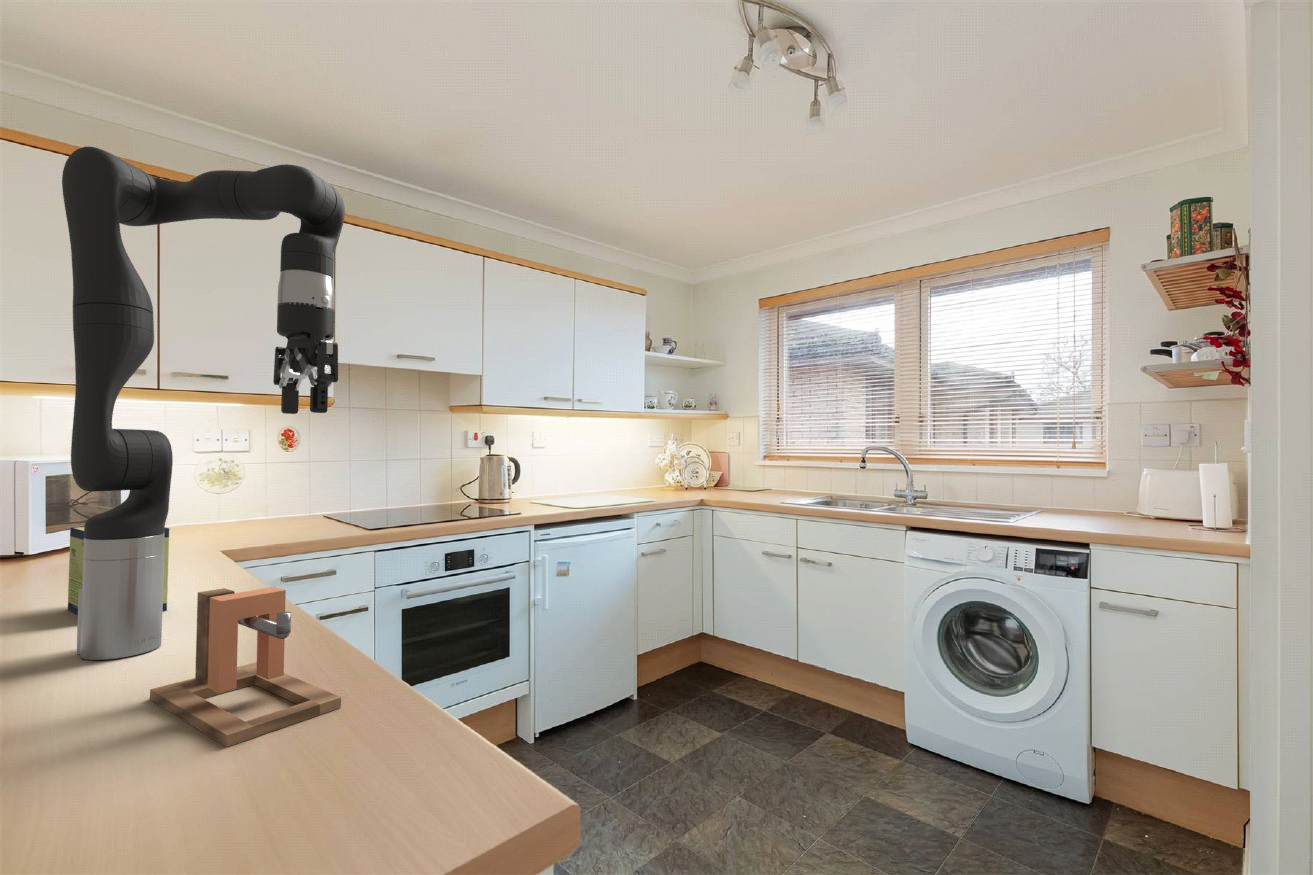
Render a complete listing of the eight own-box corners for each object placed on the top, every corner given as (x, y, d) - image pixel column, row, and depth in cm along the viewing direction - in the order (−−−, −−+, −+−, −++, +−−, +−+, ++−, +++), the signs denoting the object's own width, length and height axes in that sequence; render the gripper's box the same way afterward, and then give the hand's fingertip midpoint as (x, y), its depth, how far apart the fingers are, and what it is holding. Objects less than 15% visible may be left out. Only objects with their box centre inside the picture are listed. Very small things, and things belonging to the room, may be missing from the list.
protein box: (96, 623, 107) (99, 533, 107) (65, 610, 115) (68, 526, 115) (169, 610, 115) (171, 527, 116) (135, 599, 124) (137, 521, 124)
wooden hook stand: (149, 699, 75) (152, 598, 76) (257, 670, 85) (259, 581, 85) (226, 746, 64) (229, 627, 64) (340, 707, 74) (343, 604, 74)
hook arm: (214, 617, 78) (215, 594, 78) (226, 615, 79) (227, 592, 79) (279, 641, 69) (280, 615, 69) (293, 638, 70) (293, 612, 70)
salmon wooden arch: (218, 693, 71) (221, 601, 71) (207, 687, 72) (209, 597, 72) (283, 675, 76) (285, 590, 77) (272, 670, 78) (273, 586, 78)
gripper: (257, 306, 94) (254, 412, 94) (305, 294, 86) (302, 410, 86) (307, 315, 100) (305, 415, 100) (356, 305, 92) (354, 413, 92)
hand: (303, 413), depth 93 cm, fingers open, 8 cm apart
